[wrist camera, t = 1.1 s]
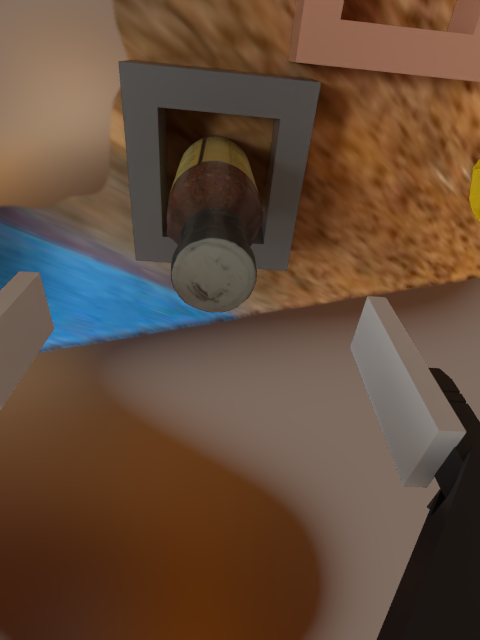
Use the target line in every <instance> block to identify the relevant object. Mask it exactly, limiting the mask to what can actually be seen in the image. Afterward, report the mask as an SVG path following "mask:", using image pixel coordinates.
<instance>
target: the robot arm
mask: <svg viewBox="0 0 480 640" xmlns="http://www.w3.org/2000/svg"><path fill="white" fill-rule="evenodd" d="M53 330H54V326H53V322H52V318H51V315H50V311H49V307H48V303H47V299H46V296H45V292H44V288H43V284H42V280H41V277H40V273H37V272H23V271H19V272H18V273H17V274H16V275H15V276H14V277H13V278H12V279H11V280H10V281H9V282H8V283H7V284H6V285H5V286H4V287H3V288H2V289H1V290H0V410H1V409H2V407H3V406H4V404H5V403H6V401H7V400H8V398H9V396H10V395H11V393H12V392H13V390H14V389H15V387H16V386H17V384H18V383H19V381H20V380H21V378H22V377H23V375H24V374H25V372H26V371H27V369H28V368H29V366H30V365H31V363H32V362H33V360H34V358H35V357H36V355H37V354H38V352H39V351H40V349H41V348H42V346H43V345H44V343H45V342H46V340H47V339H48V337H49V336H50V334H51V333H52V331H53ZM350 349H351V351H352V353H353V356H354V359H355V362H356V364H357V367H358V369H359V372H360V375H361V377H362V380H363V382H364V385H365V388H366V391H367V393H368V396H369V398H370V401H371V404H372V406H373V409H374V412H375V414H376V417H377V419H378V422H379V425H380V427H381V430H382V433H383V435H384V438H385V441H386V443H387V446H388V449H389V451H390V454H391V456H392V459H393V462H394V464H395V467H396V470H397V472H398V475H399V477H400V480H401V482H402V485H403V487H423V488H427V487H428V485H429V484H430V483H431V481H432V480H433V478H434V477H435V478H436V480H437V482H438V484H439V487H440V490H439V491H438V493H437V494H436V495H435V497H434V498H433V499H432V501H431V502H430V503H429V505H428V506H427V508H429V509H430V511H429V513H428V515H427V518H426V521H425V523H424V525H423V528H422V530H421V533H420V535H419V538H418V540H417V542H416V545H415V547H414V550H413V552H412V555H411V557H410V560H409V562H408V564H407V567H406V569H405V572H404V574H403V577H402V579H401V581H400V584H399V586H398V589H397V591H396V594H395V596H394V599H393V601H392V603H391V606H390V608H389V611H388V614H387V616H386V618H385V620H384V623H383V625H382V628H381V630H380V633H379V635H378V638H377V640H480V422H479V420H478V419H477V417H476V416H475V414H474V413H473V411H472V409H471V408H470V406H469V405H468V404H466V400H465V399H464V397H463V396H462V394H460V393H459V392H460V391H459V390H458V388H457V387H456V385H455V383H454V382H453V381H452V379H451V378H450V377H449V376H447V375H446V374H445V373H444V372H443V371H442V370H441V369H438V368H428V367H427V365H426V364H425V362H424V360H423V359H422V357H421V355H420V354H419V352H418V350H417V349H416V347H415V345H414V344H413V342H412V341H411V339H410V337H409V336H408V334H407V332H406V330H405V329H404V327H403V325H402V324H401V322H400V320H399V319H398V317H397V316H396V314H395V312H394V310H393V309H392V307H391V305H390V304H389V302H388V300H387V299H386V298H385V297H371V296H368V297H367V300H366V302H365V306H364V309H363V311H362V314H361V317H360V320H359V323H358V326H357V329H356V332H355V334H354V338H353V340H352V343H351V346H350Z"/></svg>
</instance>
